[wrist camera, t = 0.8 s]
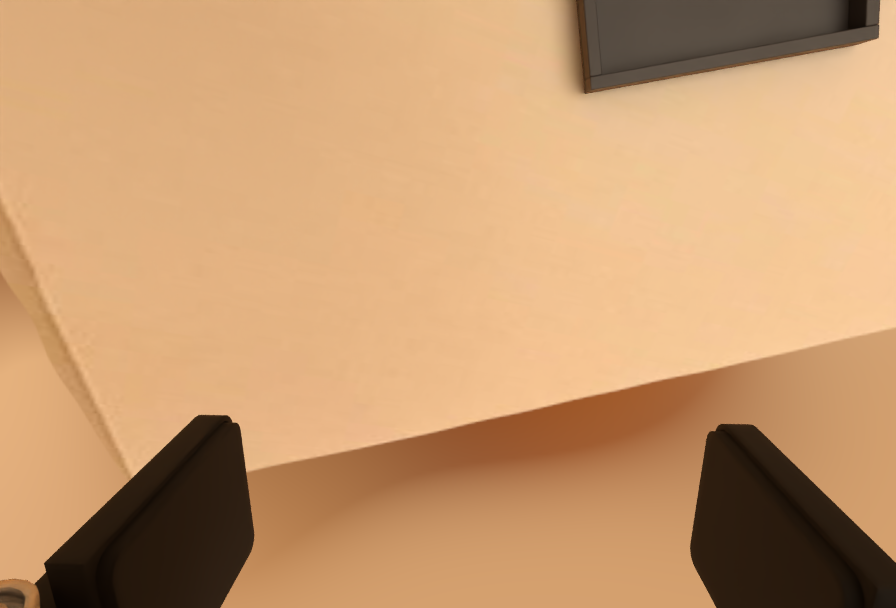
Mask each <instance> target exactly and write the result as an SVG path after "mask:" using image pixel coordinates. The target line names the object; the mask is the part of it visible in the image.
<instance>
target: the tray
mask: <svg viewBox="0 0 896 608" xmlns="http://www.w3.org/2000/svg"><path fill="white" fill-rule="evenodd" d="M576 1H577V12H578V23H579V34H580V45H581V56H582V67H583V78H584V89H585V94H587V93H592V92H598V91H603V90H609V89H614V88H620V87H625V86H631V85H637V84H642V83H648V82H653V81H659V80H664V79H670V78H675V77H681V76H686V75H692V74H698V73H703V72H709V71H714V70H720V69H725V68H731V67H736V66H742V65H748V64H753V63H759V62H764V61H770V60H775V59H781V58H786V57H792V56H798V55H803V54H809V53H814V52H820V51H825V50H831V49H836V48H842V47H848V46H853V45H858V44H861V43H864V42H867V41H871V40H874V39H877V38H878V37H879V25H877V24H879V11H880V0H576Z"/></svg>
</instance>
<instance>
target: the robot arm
mask: <svg viewBox="0 0 896 608" xmlns="http://www.w3.org/2000/svg"><path fill="white" fill-rule="evenodd" d="M253 542H254V528H253V521H252V513H251V505H250V498H249V490H248V483H247V476H246V468H245V460H244V452H243V445H242V437H241V430H240V426H239V425H238V424H237V423H232V420H231V418H230V417H229V416H227V415H198V416H197V417H195V418H194V419H193V420H192V421H191V422H190V423H189V424H188V425H187V426H186V427H185V428H184V429H183V430H182V431H181V432H180V433H179V434H178V435H177V436H175V437H174V438H173V439H172V440H171V441H170V442H169V443H168V444H167V445H166V446H165V447H164V448H163V449H162V450H161V451H160V452H159V453H158V454H157V455H156V456H155V457H154V458H153V459H152V460H151V461H150V462H148V463H147V464H146V465H145V466H144V467H143V468H142V469H141V470H140V471H139V472H138V473H137V474H136V475H135V476H134V477H133V478H132V479H131V480H130V481H129V482H128V483H127V484H126V485H125V486H124V487H123V488H122V489H120V490H119V491H118V492H117V493H116V494H115V495H114V496H113V497H112V498H111V499H110V500H109V501H108V502H107V503H106V504H105V505H104V506H103V507H102V508H101V509H100V510H99V511H98V512H97V513H96V514H95V515H93V517H91V519H89V520H88V521H87V522H86V523H85V524H84V525H83V526H82V527H81V528H80V529H79V530H78V531H77V532H76V533H75V534H74V535H73V536H72V537H71V538H70V539H69V540H68V541H67V542H65V544H63V545H62V546H61V547H60V548H59V549H58V550H57V551H56V552H55V553H54V554H53V555H52V556H51V557H50V558H49V559H48V560H47V561H46V562H45V563H44V565H45V568H46V573H45V574H44V575H43V576H42V577H41V578H40V579H39V580H38V581H37V582H36V583H35V584H33V583H31V582H29V581H28V580H19V579H9V580H2V581H0V608H220V607H221V605H222V604H223V602H224V600H225V598H226V596H227V594H228V593H229V591H230V589H231V587H232V585H233V583H234V581H235V580H236V578H237V576H238V574H239V573H240V571H241V569H242V567H243V565H244V564H245V562H246V560H247V558H248V556H249V554H250V552H251V550H252V547H253ZM690 550H691V558H692V561H693V564H694V566H695V568H696V570H697V572H698V574H699V576H700V578H701V580H702V581H703V583H704V585H705V587H706V589H707V591H708V593H709V594H710V596H711V598H712V600H713V602H714V604H715V606H716V608H896V563H895V562H894V561H893V560H892V559H891V558H890V557H889V556H888V555H887V554H886V553H885V552H884V551H883V550H882V549H881V548H880V547H879V546H878V545H877V544H876V543H875V542H874V541H873V540H872V539H871V538H870V537H869V536H868V535H867V534H865V533H864V532H863V531H862V530H861V529H860V528H859V527H858V526H857V525H856V524H855V523H854V522H853V521H852V520H851V519H850V518H849V517H848V516H847V515H846V514H845V513H844V512H843V511H842V510H841V509H840V508H839V507H838V506H837V505H836V504H835V503H833V502H832V500H831V499H830V498H828V497H827V496H826V495H825V494H824V493H823V492H822V491H821V490H820V489H819V488H818V487H817V486H816V485H815V484H814V483H813V482H812V481H811V480H810V479H809V478H808V477H807V476H806V475H805V474H804V473H803V472H802V471H801V470H800V469H798V467H796V466H795V464H793V463H792V462H791V461H790V460H789V459H788V458H787V457H786V456H785V455H784V454H783V453H782V452H781V451H780V450H779V449H778V448H777V447H776V446H775V445H774V444H773V443H772V442H771V441H770V440H769V439H768V438H767V437H766V436H765V435H764V434H763V433H762V432H761V431H759V430H758V429H757V428H756V427H755V426H754V425H748V424H747V425H746V424H721V425H719V426H718V427H717V429H716V431H711V432H709V434H708V435H707V439H706V446H705V452H704V459H703V465H702V472H701V479H700V485H699V492H698V498H697V505H696V512H695V518H694V525H693V531H692V537H691V545H690Z"/></svg>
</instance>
